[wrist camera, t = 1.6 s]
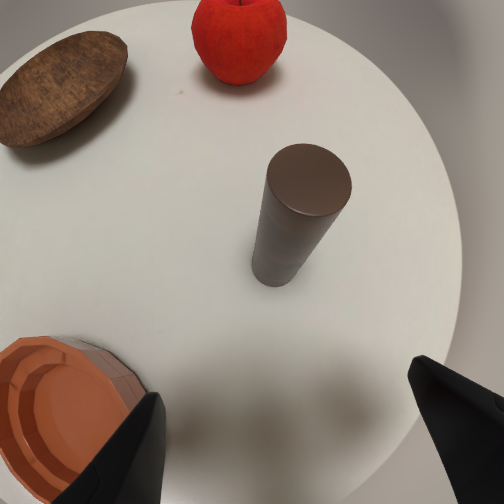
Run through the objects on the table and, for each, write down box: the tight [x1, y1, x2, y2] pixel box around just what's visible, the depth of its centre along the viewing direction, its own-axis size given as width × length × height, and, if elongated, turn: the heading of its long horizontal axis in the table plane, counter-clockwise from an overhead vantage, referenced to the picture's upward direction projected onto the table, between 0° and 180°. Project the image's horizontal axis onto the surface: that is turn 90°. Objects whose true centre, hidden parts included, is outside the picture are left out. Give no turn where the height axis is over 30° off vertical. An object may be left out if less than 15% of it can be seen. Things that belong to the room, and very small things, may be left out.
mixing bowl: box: [0, 336, 146, 504], centre depth 16 cm, size 14×14×6 cm
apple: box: [191, 0, 287, 85], centre depth 26 cm, size 10×10×12 cm
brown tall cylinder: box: [252, 144, 352, 287], centre depth 18 cm, size 4×4×13 cm
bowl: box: [0, 31, 128, 148], centre depth 27 cm, size 20×22×5 cm
